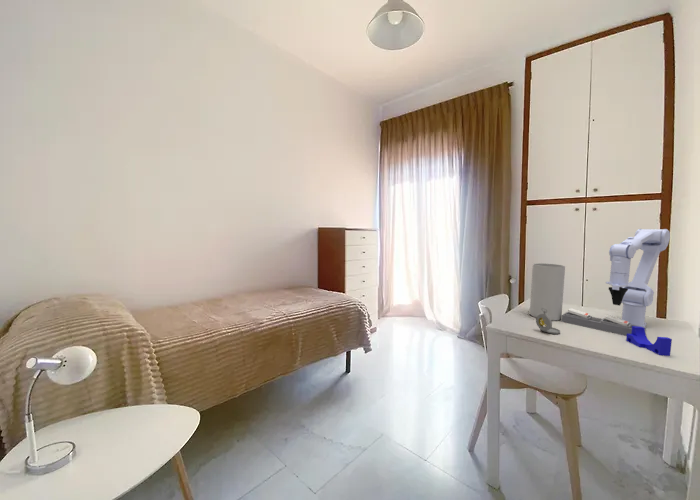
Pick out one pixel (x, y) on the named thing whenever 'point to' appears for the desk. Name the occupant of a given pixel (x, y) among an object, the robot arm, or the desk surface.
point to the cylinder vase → (547, 290)
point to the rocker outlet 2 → (616, 320)
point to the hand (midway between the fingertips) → (616, 304)
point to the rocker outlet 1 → (578, 313)
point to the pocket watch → (546, 323)
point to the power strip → (598, 323)
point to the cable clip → (640, 340)
